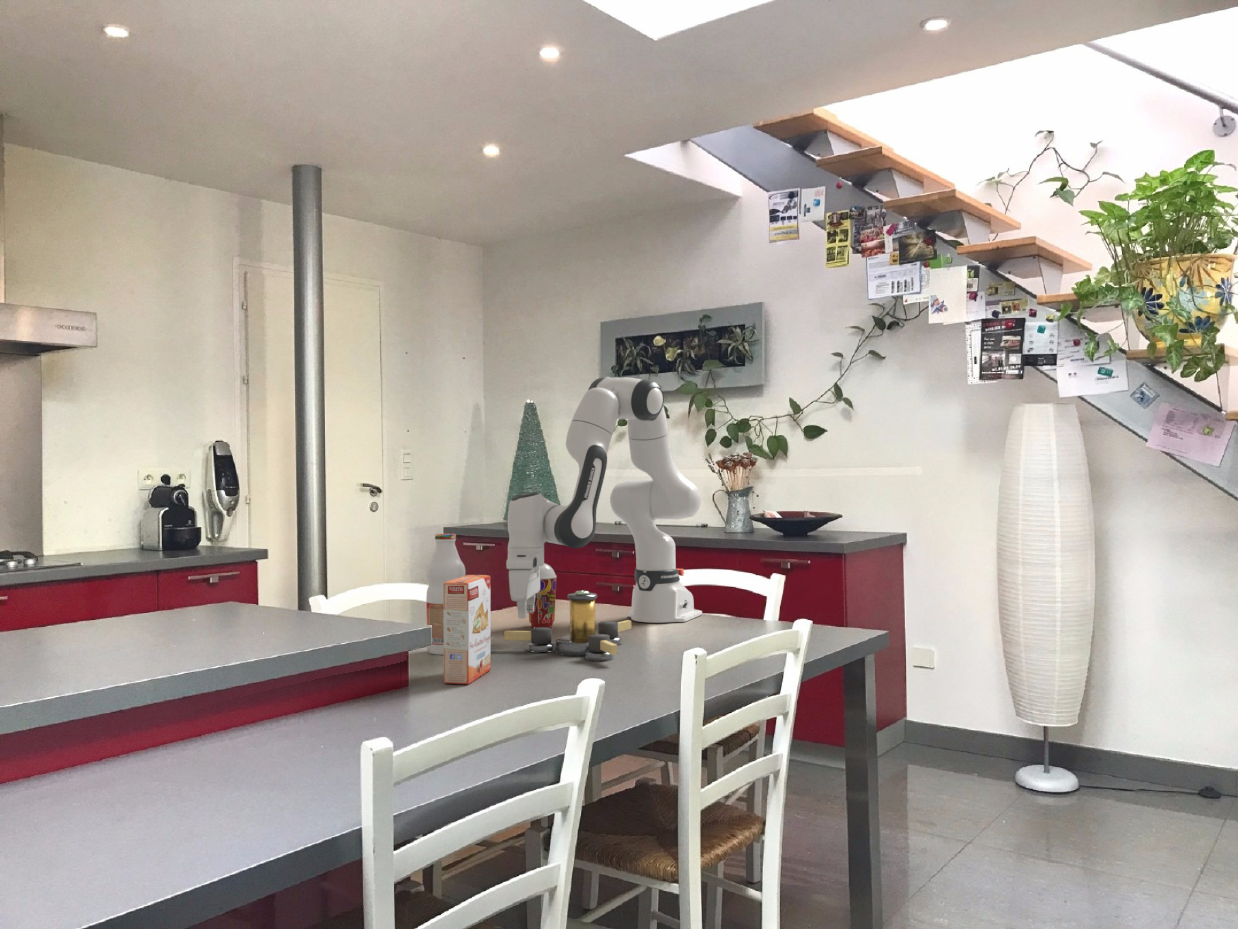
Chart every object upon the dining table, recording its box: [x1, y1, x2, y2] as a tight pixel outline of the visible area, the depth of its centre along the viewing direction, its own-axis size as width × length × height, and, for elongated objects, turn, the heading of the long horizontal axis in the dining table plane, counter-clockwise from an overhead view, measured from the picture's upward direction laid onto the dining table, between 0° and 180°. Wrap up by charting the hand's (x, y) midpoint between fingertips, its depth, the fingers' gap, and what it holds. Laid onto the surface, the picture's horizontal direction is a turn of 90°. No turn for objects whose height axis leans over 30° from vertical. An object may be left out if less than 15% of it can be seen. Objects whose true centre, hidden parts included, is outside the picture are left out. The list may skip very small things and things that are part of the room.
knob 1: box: [503, 627, 552, 644], centre depth 235 cm, size 11×5×3 cm, turn 84°
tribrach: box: [527, 590, 622, 662], centre depth 236 cm, size 21×24×14 cm
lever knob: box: [597, 619, 632, 638], centre depth 244 cm, size 11×5×3 cm, turn 144°
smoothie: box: [528, 562, 557, 628], centre depth 267 cm, size 8×8×20 cm
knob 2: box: [588, 633, 619, 656], centre depth 222 cm, size 11×5×3 cm, turn 24°
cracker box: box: [443, 574, 492, 685], centre depth 207 cm, size 14×6×21 cm, turn 168°
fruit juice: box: [425, 533, 466, 656], centre depth 235 cm, size 9×9×28 cm
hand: (526, 615), depth 241 cm, fingers open, 8 cm apart
